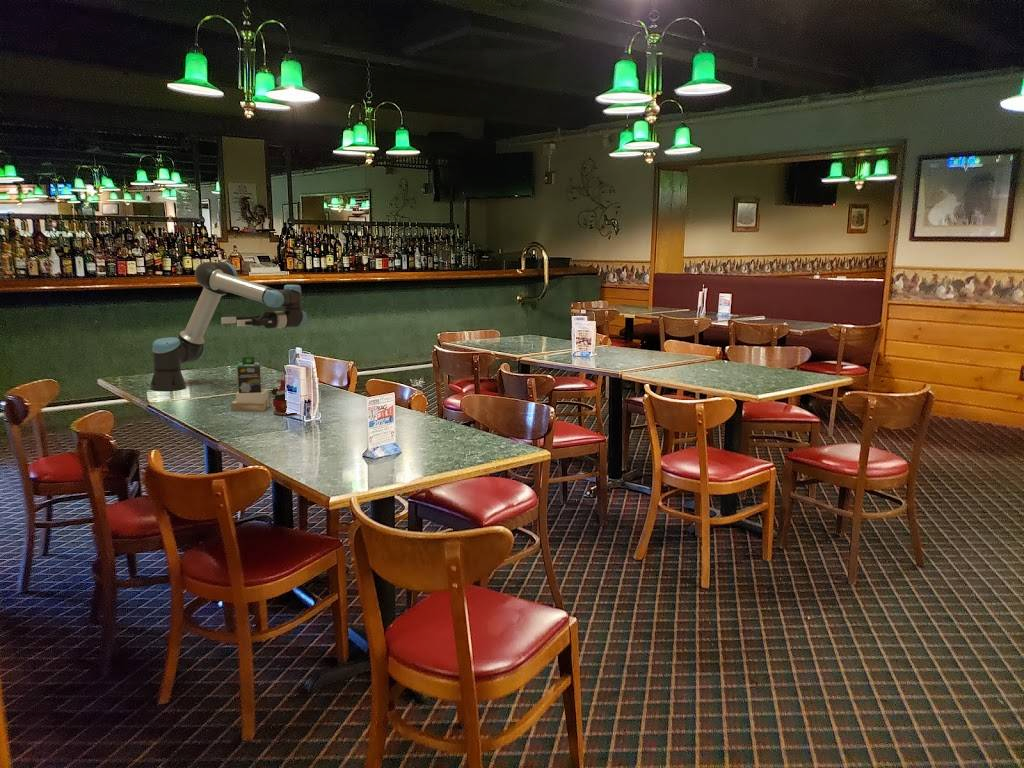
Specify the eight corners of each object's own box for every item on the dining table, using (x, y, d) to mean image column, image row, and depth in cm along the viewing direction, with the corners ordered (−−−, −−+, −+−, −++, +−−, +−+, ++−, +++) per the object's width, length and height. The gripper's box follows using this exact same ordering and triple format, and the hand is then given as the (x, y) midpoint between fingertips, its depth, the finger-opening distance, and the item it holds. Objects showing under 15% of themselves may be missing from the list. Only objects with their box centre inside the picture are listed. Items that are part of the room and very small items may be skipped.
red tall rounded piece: (297, 410, 311) (297, 368, 308) (299, 415, 303) (299, 372, 300) (271, 411, 308) (270, 368, 305) (272, 416, 299) (271, 372, 296)
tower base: (238, 406, 319) (238, 397, 318) (270, 406, 320) (269, 397, 320) (231, 412, 306) (230, 403, 306) (263, 413, 308) (263, 403, 307)
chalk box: (260, 388, 318) (259, 354, 316) (261, 392, 310) (260, 357, 307) (237, 389, 315) (236, 354, 312) (238, 393, 306) (236, 357, 304)
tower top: (241, 397, 318) (241, 388, 317) (268, 397, 319) (268, 388, 319) (236, 402, 307) (236, 393, 306) (263, 402, 309) (263, 393, 308)
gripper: (289, 330, 327) (244, 333, 311) (260, 325, 343) (215, 327, 328) (288, 313, 326) (243, 315, 310) (259, 309, 342) (215, 311, 326)
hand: (229, 321), depth 319 cm, fingers open, 13 cm apart
